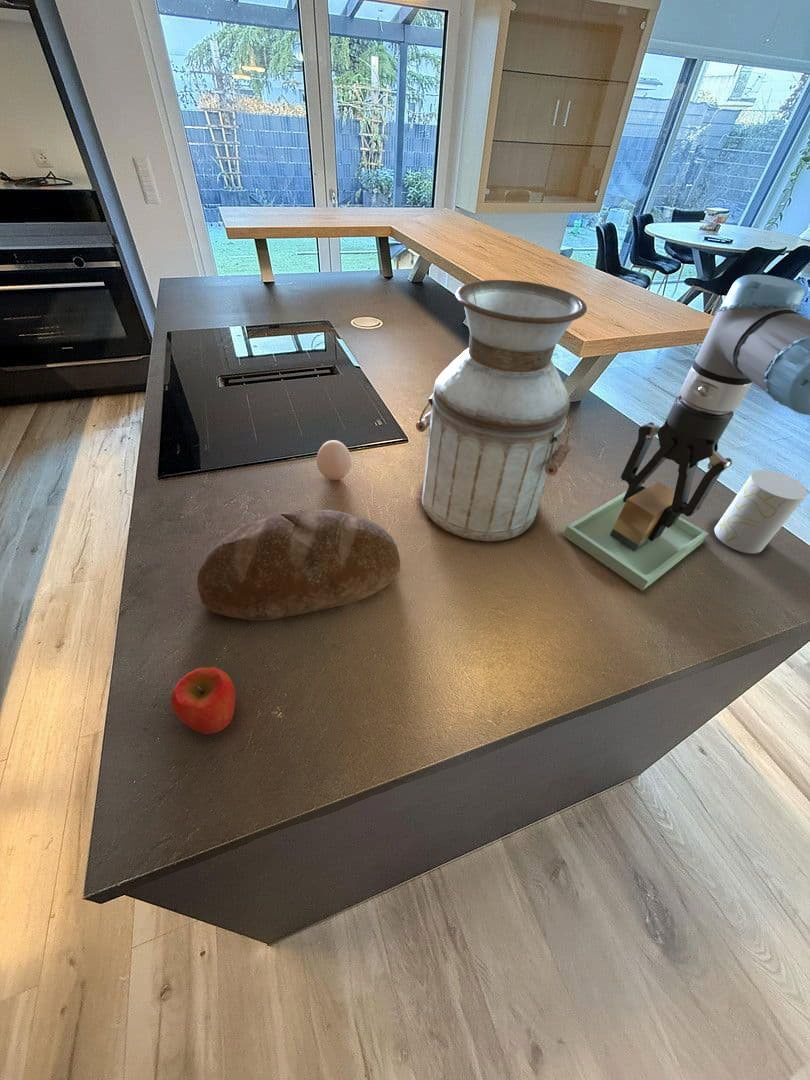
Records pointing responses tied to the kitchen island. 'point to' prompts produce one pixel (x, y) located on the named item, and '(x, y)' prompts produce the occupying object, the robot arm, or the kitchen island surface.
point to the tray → (623, 560)
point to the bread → (297, 565)
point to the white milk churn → (499, 411)
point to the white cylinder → (759, 510)
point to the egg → (334, 460)
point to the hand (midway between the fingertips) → (639, 527)
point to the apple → (205, 700)
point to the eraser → (642, 515)
